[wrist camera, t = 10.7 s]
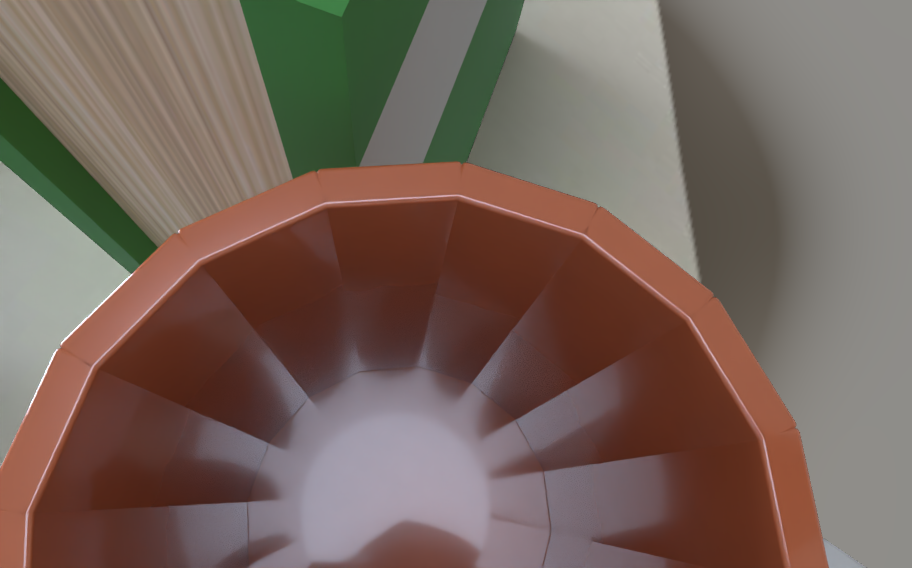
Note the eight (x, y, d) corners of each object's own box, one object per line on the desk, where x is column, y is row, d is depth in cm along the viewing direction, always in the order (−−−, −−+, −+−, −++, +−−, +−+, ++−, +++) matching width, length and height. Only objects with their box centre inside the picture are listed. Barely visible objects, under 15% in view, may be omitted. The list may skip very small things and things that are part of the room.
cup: (512, 742, 15) (749, 1211, 5) (181, 638, 15) (-210, 912, 5) (594, 408, 17) (878, 290, 7) (301, 316, 17) (183, 71, 7)
